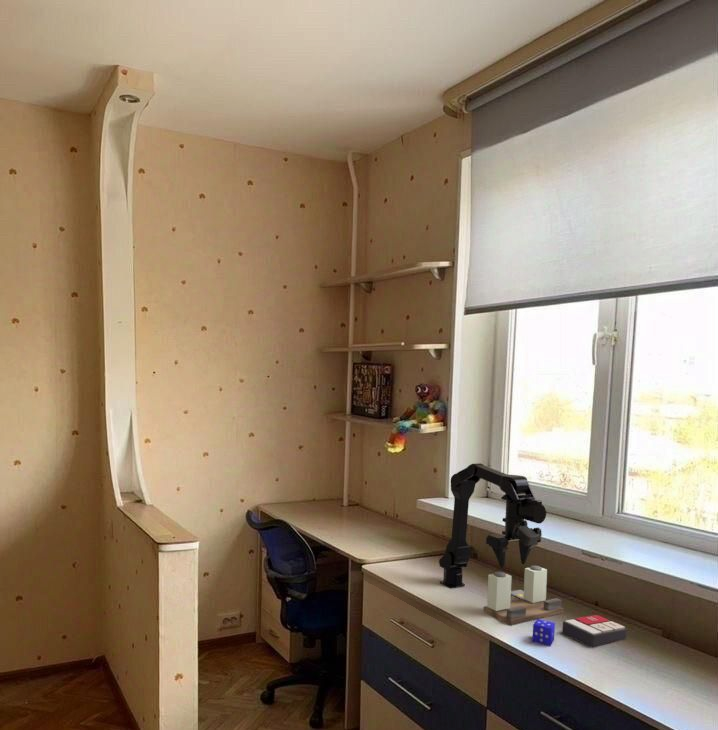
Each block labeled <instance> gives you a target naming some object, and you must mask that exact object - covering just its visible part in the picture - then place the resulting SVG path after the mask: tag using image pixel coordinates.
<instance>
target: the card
mask: <svg viewBox="0 0 718 730" xmlns="http://www.w3.org/2000/svg"><path fill="white" fill-rule="evenodd" d="M511 596H513V597H515V596H516V597H515V598H517V597H518V598H517V599H519V598H520V599H523V598H524V590H522V589H517V590H511Z"/></svg>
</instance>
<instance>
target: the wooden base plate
mask: <svg viewBox="0 0 718 730" xmlns="http://www.w3.org/2000/svg"><path fill="white" fill-rule="evenodd" d="M562 606H563V600H562V599H560V598H557V597H556V598H552V599H547V600H545V601H540V602H536V603H531V602H529V601H527V600H525V599H524V598H523V599H519V598H517V599H514V600H511V601H510V608H508V609H503V610H499V611H495V610H493V609H491V608H489V607H487V605H486V606H483V609H482V610H483V612H484V613H485V614H487V615H489V616H491V617H493V618H496V619H498V621H499V620H500V621H501V622H503V623H505V624H507V625H509V626H515V625H519V624H523V623H528V622H532V620H533V621H536V620H537V619H540V620H542V619H544V617H545V618H548V616H549V617H553V616H552V615H554V616H557V615H556V614H558V615H561V614H560V613H562V614H564V613H565V608H564V607H562Z"/></svg>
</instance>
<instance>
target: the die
mask: <svg viewBox="0 0 718 730" xmlns="http://www.w3.org/2000/svg"><path fill="white" fill-rule="evenodd" d="M555 628H556V622H553V621H548V620H544V619H537V620H535V622H534V623H533V624H532V640H531V642H533V643H535V644H539V645H543V644H544V646H547V645H549V647H552V644H553V642H554V641H555V633H556V631H555Z"/></svg>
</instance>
